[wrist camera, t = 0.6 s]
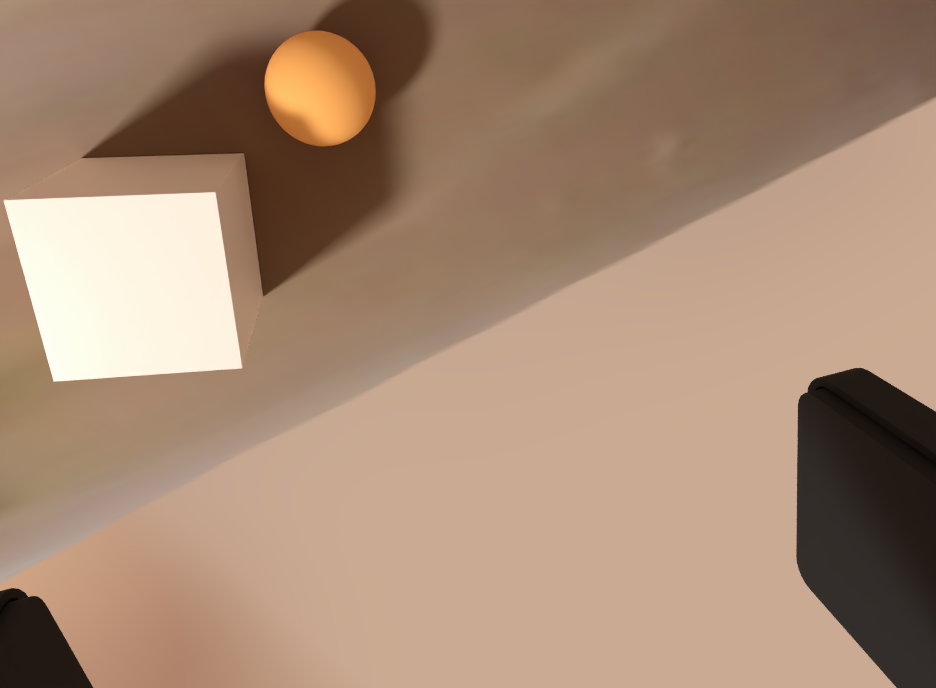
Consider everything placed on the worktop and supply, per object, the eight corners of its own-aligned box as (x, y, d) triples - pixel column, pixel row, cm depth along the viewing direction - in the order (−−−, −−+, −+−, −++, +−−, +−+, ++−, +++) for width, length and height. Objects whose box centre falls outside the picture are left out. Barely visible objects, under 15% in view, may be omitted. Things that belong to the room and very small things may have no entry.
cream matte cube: (81, 158, 35) (3, 200, 27) (244, 153, 36) (215, 192, 28) (114, 305, 38) (54, 381, 30) (263, 296, 39) (242, 368, 31)
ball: (263, 30, 34) (251, 32, 29) (370, 29, 35) (374, 31, 30) (276, 138, 36) (266, 156, 31) (376, 136, 37) (380, 152, 32)
